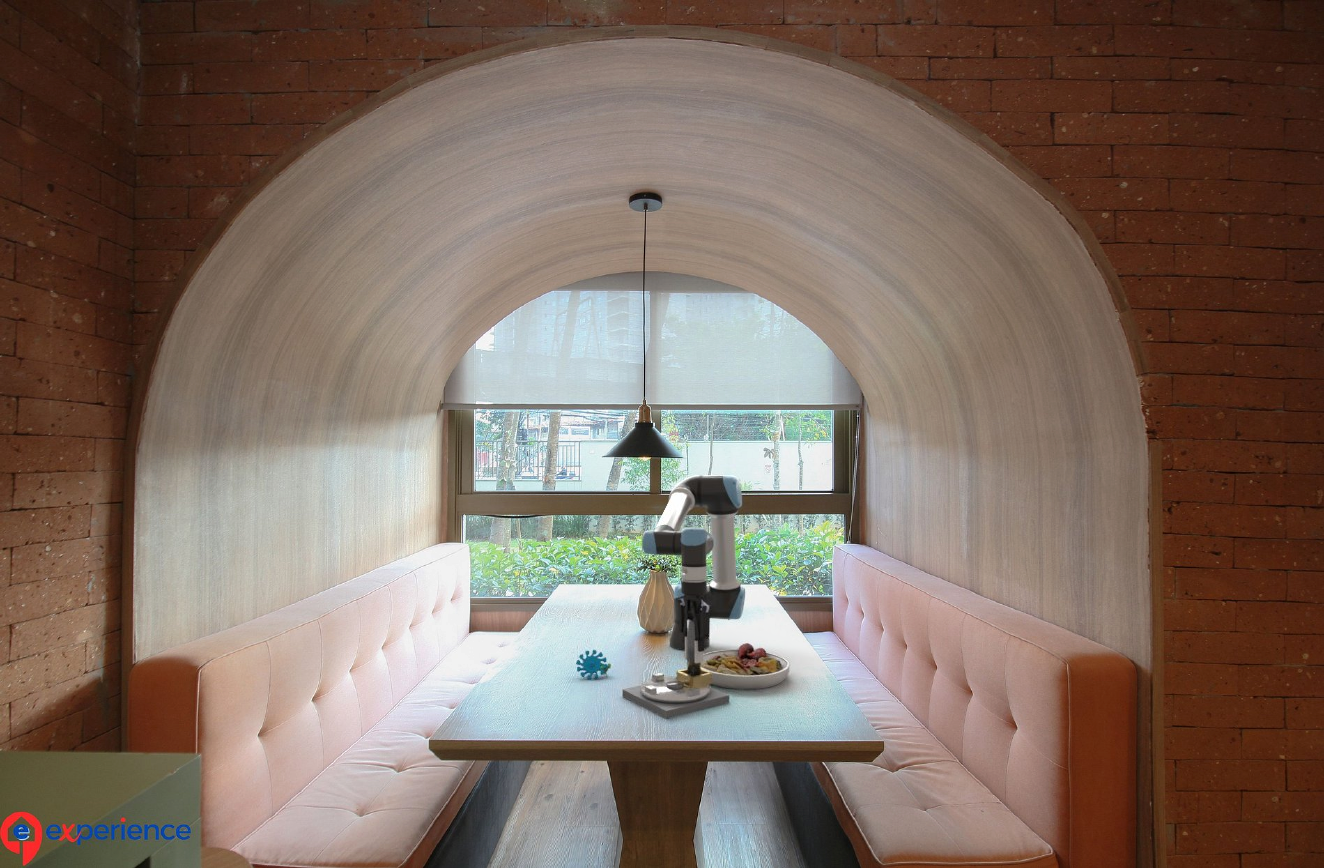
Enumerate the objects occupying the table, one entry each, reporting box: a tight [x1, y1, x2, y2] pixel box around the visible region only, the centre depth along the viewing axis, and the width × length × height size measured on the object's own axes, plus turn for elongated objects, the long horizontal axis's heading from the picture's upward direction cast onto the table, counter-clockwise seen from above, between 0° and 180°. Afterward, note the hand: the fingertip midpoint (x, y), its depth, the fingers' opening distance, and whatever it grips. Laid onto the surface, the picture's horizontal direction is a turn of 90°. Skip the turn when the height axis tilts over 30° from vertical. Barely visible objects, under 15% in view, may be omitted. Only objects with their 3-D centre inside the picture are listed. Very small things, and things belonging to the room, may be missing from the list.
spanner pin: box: [686, 618, 701, 676], centre depth 200 cm, size 4×4×16 cm
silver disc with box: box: [640, 668, 713, 703], centre depth 196 cm, size 21×20×4 cm
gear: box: [575, 649, 612, 681], centre depth 219 cm, size 11×6×10 cm
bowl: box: [701, 642, 791, 690], centre depth 217 cm, size 30×30×8 cm
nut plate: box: [621, 684, 730, 720], centre depth 196 cm, size 22×22×2 cm
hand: (694, 660), depth 200 cm, fingers closed on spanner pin, 4 cm apart
